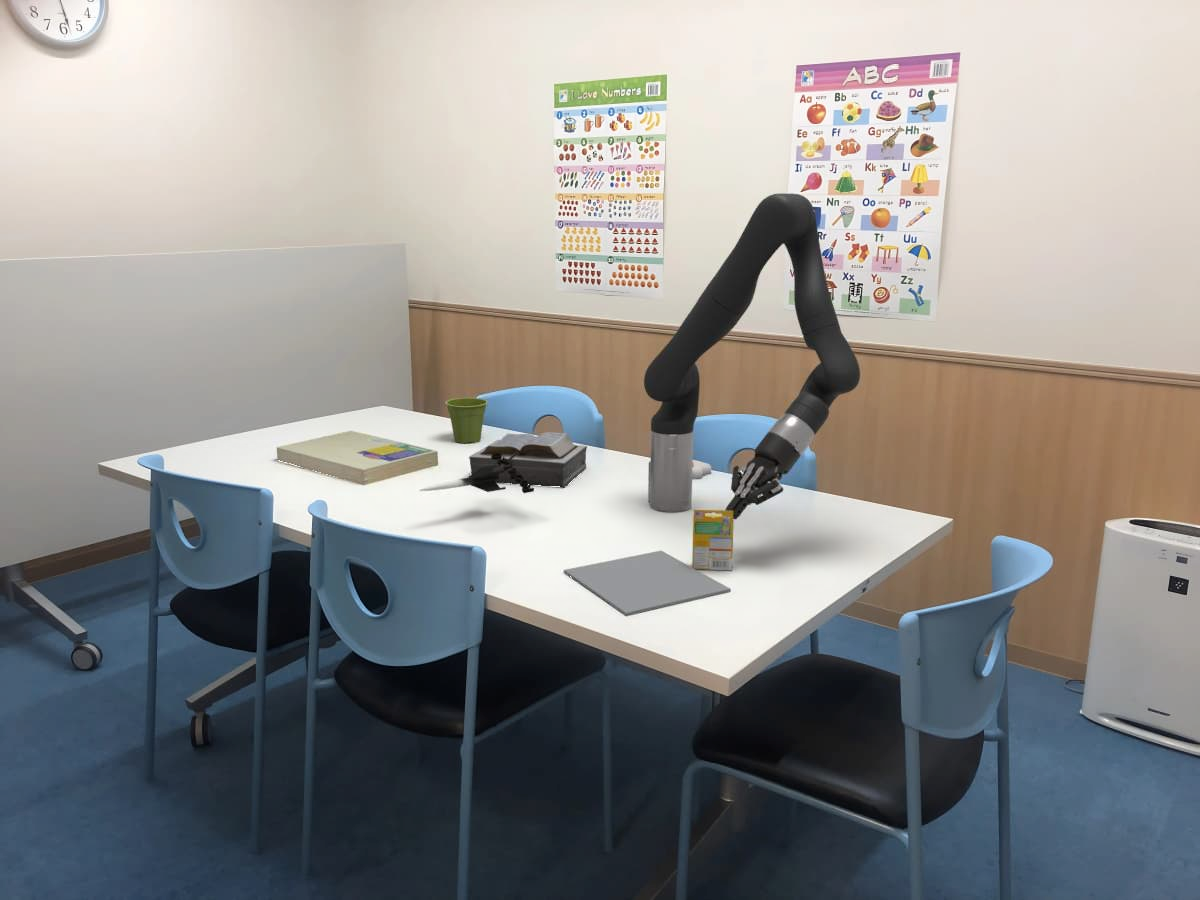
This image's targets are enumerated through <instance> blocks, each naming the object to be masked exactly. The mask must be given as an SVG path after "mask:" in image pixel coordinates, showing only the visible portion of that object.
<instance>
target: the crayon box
mask: <svg viewBox="0 0 1200 900" xmlns="http://www.w3.org/2000/svg"><path fill="white" fill-rule="evenodd" d="M733 512H734V511H728V510H724V509H722V510H721V509H718V510H717V509H693V515H692V516H693V517H692V518H693V519H692V562H691V567H692V568H694V569H696V570H708V571H709V570H712V571H730V572H731V571H732V570H733V557H734V556H733V553H734V552H733V550H734V519H733ZM712 513H714V514H715V515H713V514H712ZM717 514H718V515H717Z"/></svg>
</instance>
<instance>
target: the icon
mask: <svg viewBox="0 0 1200 900" xmlns="http://www.w3.org/2000/svg"><path fill="white" fill-rule="evenodd" d="M711 472H712V466H711V465H710V464H709V463H707V462H703V461H699V460H695V459H693V469H692V480H701V479H702V477H703V476H706V475H709V474H711Z"/></svg>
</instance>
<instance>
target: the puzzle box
mask: <svg viewBox="0 0 1200 900" xmlns="http://www.w3.org/2000/svg"><path fill="white" fill-rule="evenodd" d="M438 455H439V452H438V451H437V450H434V449H430V448H426V447H422V446H418V445H414V444H409V443H406V442H402V441H397V440H394V439H388V438H385V437H380V436H376V435H370V434H367V433H362V432H358V431H354V430H348V431H345V432H338V433H334V434H329V435H326V436H322V437H317V438H312V439H309V440H308V439H307V440H303V441H298V442H294V443H289V444H285V445H280V446H276V457H277V461H278V460H280V461H283V462H287V463H291V464H294V465H297V466H300V467H303V468H302V469H304V468H307V469H311V470H314V471H313V472H315V471H317V472H316V473H318V472H321V473H320V474H322V473H324V474H323V475H325V474H328V475H327V476H329V475H331V476H330V477H333V476H335V477H334V478H336V477H338V478H337V479H340V478H341V479H340V480H344V479H345V480H344V481H347V480H348V482H351V481H352V482H351V483H356V484H360V485H362V486H366V485H370V484H374V483H378V482H381V481H385V480H390V479H393V478H396V477H400V476H404V475H407V474H412V473H413V472H414V473H415V472H418V471H423V470H425V469H431V468H434V467H437V466H438V465H439V456H438ZM300 467H299V468H300ZM307 469H306V470H307ZM311 470H310V471H311Z"/></svg>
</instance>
